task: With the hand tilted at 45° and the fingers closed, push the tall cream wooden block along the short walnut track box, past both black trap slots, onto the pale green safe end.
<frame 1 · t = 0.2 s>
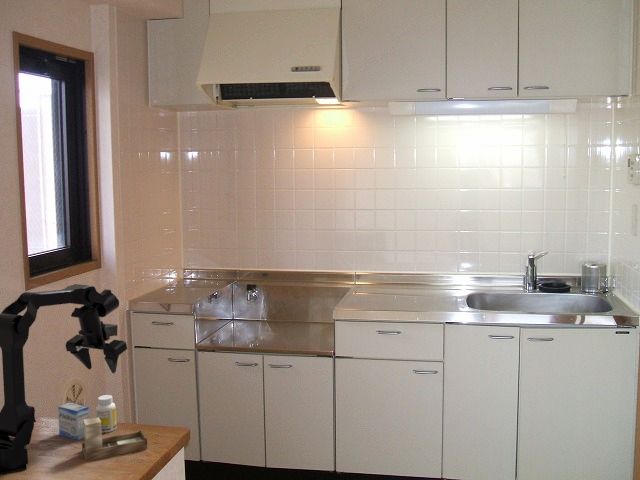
hand: (102, 370, 205), 16 cm above the table, tool pointing down, fingers open, 9 cm apart
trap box: (114, 449, 186), on the table
medicine box: (74, 436, 196), on the table
cream block: (92, 435, 183), point 5 cm above the table, slide at 0.0 cm
supplement bottle: (107, 430, 200), on the table
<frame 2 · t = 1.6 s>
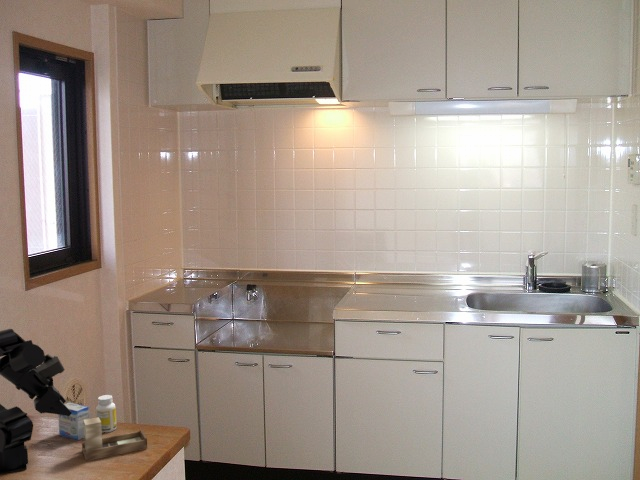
hand: (67, 408, 180), 14 cm above the table, tool tilted 45°, fingers open, 9 cm apart
nothing on the table moved.
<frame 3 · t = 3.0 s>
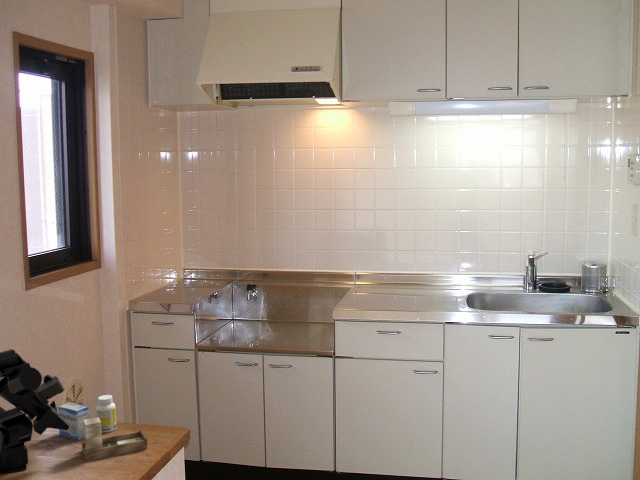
hand: (68, 428, 180), 8 cm above the table, tool tilted 45°, fingers closed
nothing on the table moved.
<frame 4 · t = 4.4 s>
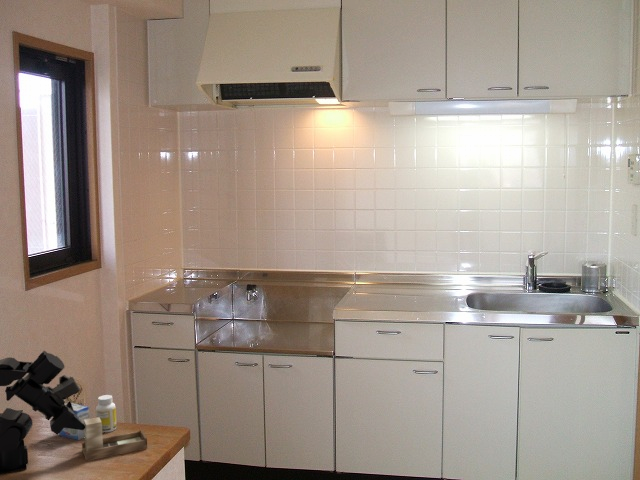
hand: (84, 428, 182), 8 cm above the table, tool tilted 45°, fingers closed, pressing on cream block
cream block: (93, 435, 183), point 5 cm above the table, slide at 0.2 cm, touching gripper
everything else where it was.
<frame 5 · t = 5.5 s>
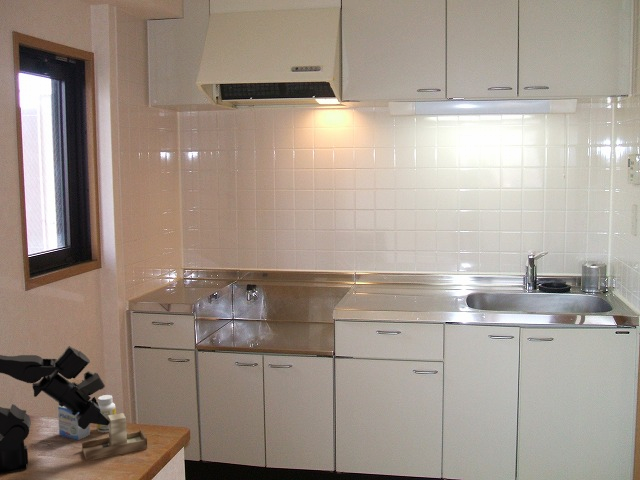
hand: (108, 423, 184), 8 cm above the table, tool tilted 45°, fingers closed, pressing on cream block
cream block: (117, 430, 186), point 5 cm above the table, slide at 6.5 cm, touching gripper
everything else where it was.
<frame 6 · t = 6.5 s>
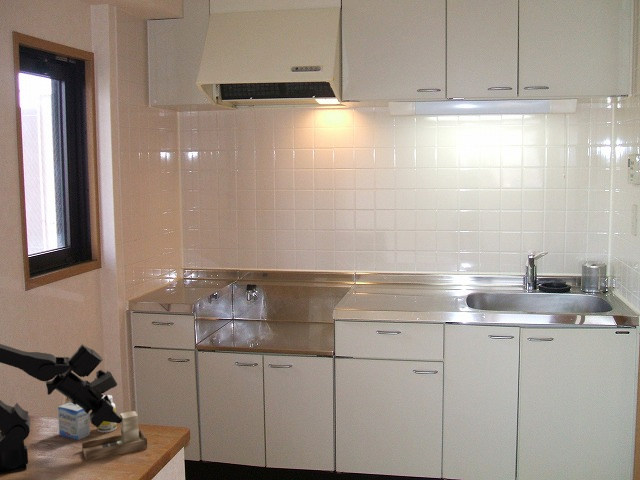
hand: (120, 421, 186), 8 cm above the table, tool tilted 45°, fingers closed, pressing on cream block
cream block: (129, 428, 187), point 5 cm above the table, slide at 9.7 cm, touching gripper
everything else where it was.
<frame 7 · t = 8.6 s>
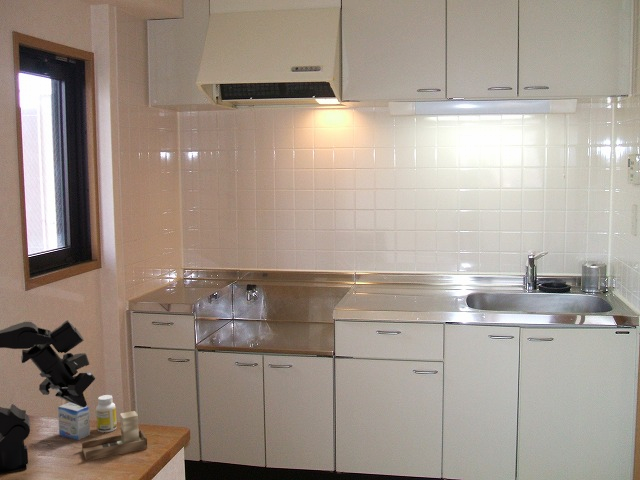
hand: (85, 406, 183), 13 cm above the table, tool tilted 30°, fingers closed
cream block: (129, 428, 187), point 5 cm above the table, slide at 9.7 cm
everything else where it was.
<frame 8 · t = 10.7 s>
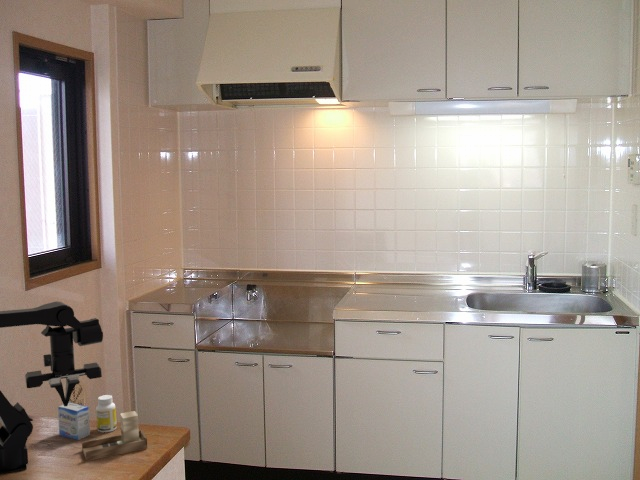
hand: (65, 405, 183), 13 cm above the table, tool pointing down, fingers closed
nothing on the table moved.
at the end: cream block slide at 9.7 cm; supplement bottle moved 0.2 cm from its start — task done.
